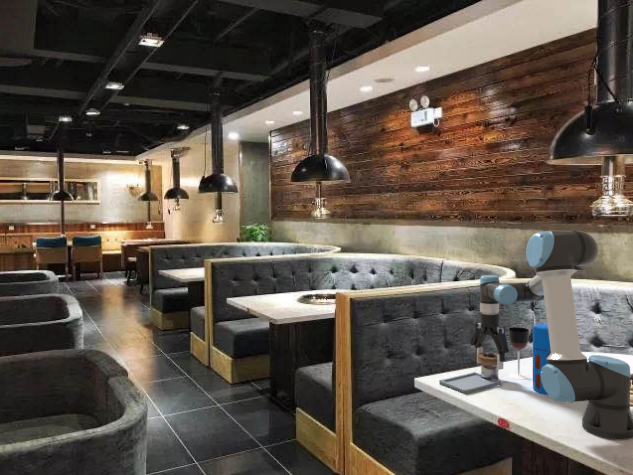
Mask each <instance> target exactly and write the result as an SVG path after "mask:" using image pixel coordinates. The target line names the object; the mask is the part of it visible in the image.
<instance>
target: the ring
mask: <svg viewBox="0 0 633 475" xmlns="http://www.w3.org/2000/svg"><path fill="white" fill-rule="evenodd" d="M493 353H494V355H493V358H488V357H487V355H486V352H483V353H480V354H476V359H477V358H478V362H479V363H478V364H480V365H481V364H485V365H497V354H498V353H497V352H496V353H495V352H493Z"/></svg>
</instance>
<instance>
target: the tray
mask: <svg viewBox="0 0 633 475" xmlns="http://www.w3.org/2000/svg"><path fill="white" fill-rule="evenodd" d="M438 382H439V385H440V386H443V387H446V388H448V389H450V388H451V390H452V391H456V392H457V391H458V393H461V394H462V393H463V394H462V395H468V393H469V394H471V393H475V392H480V391H483V390H487V389H492V388H494V387H498V386H502V381H501V380H496V379H494V378H491V380H485V379H482V378H481V373H479V372H476V371H473V372H468V373H465V374H462V375H456V376H452V377H448V378H443V379H440V380H439V381H438Z"/></svg>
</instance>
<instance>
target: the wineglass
mask: <svg viewBox="0 0 633 475" xmlns="http://www.w3.org/2000/svg"><path fill="white" fill-rule="evenodd" d="M529 337H530V330H529V329H528V328H526V327H525V328H524V327H520V326H519V327H518V326H517V327H516V326H514V327H513V326H512V327H509V328H508V339H509V343H510V345H511V346H512V347H513V348H514V349H515V350H517V373H510V374H509V375H508V376H509V378H511V379H516V380H527V379H529V376H528V375H526V374H523V373H520V372H521V371H520V366H521V365H520V364H521V360H520V359H521V358H520V354H521V353H520V351H521V350H523V349H525V348H526V347H527V346H528V344H529V343H528V342H529Z"/></svg>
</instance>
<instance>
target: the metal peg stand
mask: <svg viewBox="0 0 633 475" xmlns="http://www.w3.org/2000/svg"><path fill="white" fill-rule="evenodd" d="M485 353H486V355H487V357H488V358H493V355H494V353H495V352H492V351H485ZM480 365H481V366H480V374H481V378H482V379H485V380H491V378H494V379H496V380H499V370H498V369H497V365H485V364H481V363H480ZM499 381H500V380H499Z"/></svg>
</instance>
